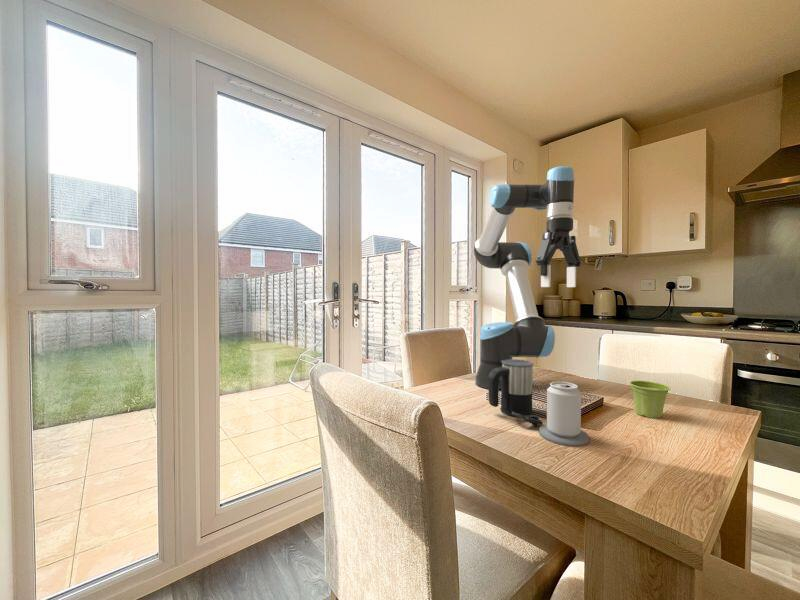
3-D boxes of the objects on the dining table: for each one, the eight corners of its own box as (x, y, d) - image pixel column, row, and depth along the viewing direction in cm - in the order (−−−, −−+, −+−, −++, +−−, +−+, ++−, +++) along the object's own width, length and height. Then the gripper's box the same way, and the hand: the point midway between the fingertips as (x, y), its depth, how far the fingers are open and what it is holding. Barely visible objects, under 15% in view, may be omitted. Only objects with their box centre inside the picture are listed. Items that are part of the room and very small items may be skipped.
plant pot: (655, 409, 102) (656, 380, 102) (677, 421, 92) (678, 390, 92) (622, 408, 103) (622, 380, 102) (641, 420, 93) (642, 389, 93)
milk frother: (513, 404, 107) (513, 357, 106) (562, 420, 94) (562, 366, 93) (482, 414, 98) (483, 363, 98) (531, 432, 85) (532, 374, 85)
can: (585, 432, 83) (585, 384, 83) (574, 442, 78) (574, 390, 78) (553, 424, 89) (554, 378, 88) (541, 432, 83) (542, 384, 83)
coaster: (530, 433, 85) (530, 429, 85) (556, 423, 91) (556, 420, 91) (572, 450, 76) (572, 447, 76) (598, 438, 82) (598, 435, 82)
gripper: (546, 211, 96) (545, 286, 96) (593, 221, 109) (592, 287, 110) (523, 216, 102) (523, 287, 103) (570, 224, 116) (570, 287, 116)
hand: (558, 287), depth 106 cm, fingers open, 13 cm apart
